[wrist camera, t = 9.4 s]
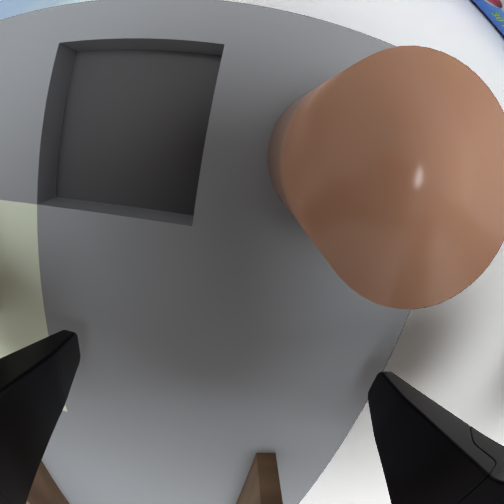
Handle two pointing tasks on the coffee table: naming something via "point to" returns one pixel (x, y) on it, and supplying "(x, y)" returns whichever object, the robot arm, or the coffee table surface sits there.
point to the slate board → (176, 247)
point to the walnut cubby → (250, 500)
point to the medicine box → (493, 11)
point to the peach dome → (396, 174)
